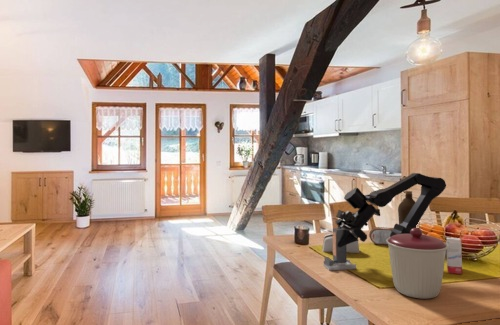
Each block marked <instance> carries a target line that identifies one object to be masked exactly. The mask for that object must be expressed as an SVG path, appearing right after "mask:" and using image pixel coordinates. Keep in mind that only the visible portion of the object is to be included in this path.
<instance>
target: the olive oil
mask: <svg viewBox="0 0 500 325" xmlns="http://www.w3.org/2000/svg"><path fill="white" fill-rule="evenodd" d="M415 202H416V201H415V200H414V198H413V191H412V190H405V198H404V199H403V200H402V201H401V202H400V203H399V204H398V207H397V214H398V224H399V225H400V224H401V223H403V222H404V220H405V218H406V217H407V215H408V214H409V212H410V210H411V209H412V207H413V206H414V204H415ZM415 228H416V227H415Z"/></svg>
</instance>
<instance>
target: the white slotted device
mask: <svg viewBox="0 0 500 325" xmlns="http://www.w3.org/2000/svg"><path fill="white" fill-rule="evenodd" d="M359 245H360V243H359V241H355V242H352V243H349V244H347V245H346V251H347V253H350V254H351V253H352V254H353V253H356V254H357V253H359V254H360V246H359ZM324 252H325V253H333V232H332V233H328V234H325V235H324V237H323V243H322V253H324Z"/></svg>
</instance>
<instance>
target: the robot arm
mask: <svg viewBox="0 0 500 325" xmlns="http://www.w3.org/2000/svg"><path fill="white" fill-rule="evenodd" d="M416 185H419V186H421V187H420V195H418V198H417V199H416V201H415V204H414V206H413V207H412V209H411V210H410V212H409V214H408V215H407V217H406V218H405V220H404V222H403V223H401V224H400V225H399V223H395V224H394V226H393V227H392V228H393V229H392V230H391V234H390V237H391V236H393V235H397V234H410V230H411V229H412V228H415V227H416V225H417V224H418V222H419V221H420V220H421V219H422V217H423V216H424V215H425V212H426V210H427V209H428V207H429V206H430V204H431V203H432V201H433V200H434V199H435V198H437V197H438V196H440V195H441V194H442V193H443V192H444V190H445V189H446V188H447V184H446V181H445V179H444V178H442V177H435V176H434V177H433V176H427V175H424V174H422V173H420V172H417V173H416V172H412V173H410V174H409V175H408V176H406V177H404V178H402V179H400V180H399V181H396V182H395V183H393V184H391V185H389V186H388V187H385V188H380V189H377V190H373V191H371V192H370V193H369V194H364V193H363V192H362V191H361V190H360V188H358V187H355V188H353V189H351V190H349V191H348V192H346V194H345V195H344V200H345V201H346V202H347V203H348V204H349V205H350V206H351V207H352V208H353V209H357V211H356V212H351V211H350V210H347V211H343V210H341V209H338V211H337V213H336V216H335V218H338V219H336V220H335V224H336V225H337V228H344V229H345V235H344V237H343V238H342V239H341V241H340V242H339V244H338V247H342V246H344V245H347V244H349V243H352V242H355V241H358V242H359V240H360V241H361V242H363V243H365V242H366V241H367V239H368V235H367V233H365V232H364V230H362V229H363V228H364V226H365V227H367V226H368V225H369V224H368V222H369V221H370V220H371V219H372V217H374V215H375V216H377V217H380V216H381V212H380V211H381V210H380V209H379V208H384V207H386V206H387V205H388V204H390V203H391V202H392V200H393V199H394V198H395V197H397V196H399V195H400V194H402V193H404V192H406V191H408V190H409V189H411V188H412V187H414V186H416ZM369 203H370V204H369ZM375 206H376V207H379V208H376V207H375ZM419 223H420V222H419Z"/></svg>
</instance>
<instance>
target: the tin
mask: <svg viewBox="0 0 500 325" xmlns="http://www.w3.org/2000/svg"><path fill="white" fill-rule="evenodd" d="M393 228H394V227H384V226H383V227H381V226H376V227H373V228H371V230H370V231H369V234H368V236H369V240H370V241H371V242H372V243H373V244H375V245H378V246H379V245H382V246H389V245H388V243H387V242H386V240H387V239H388V238H390V234H391V230H392V229H393Z"/></svg>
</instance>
